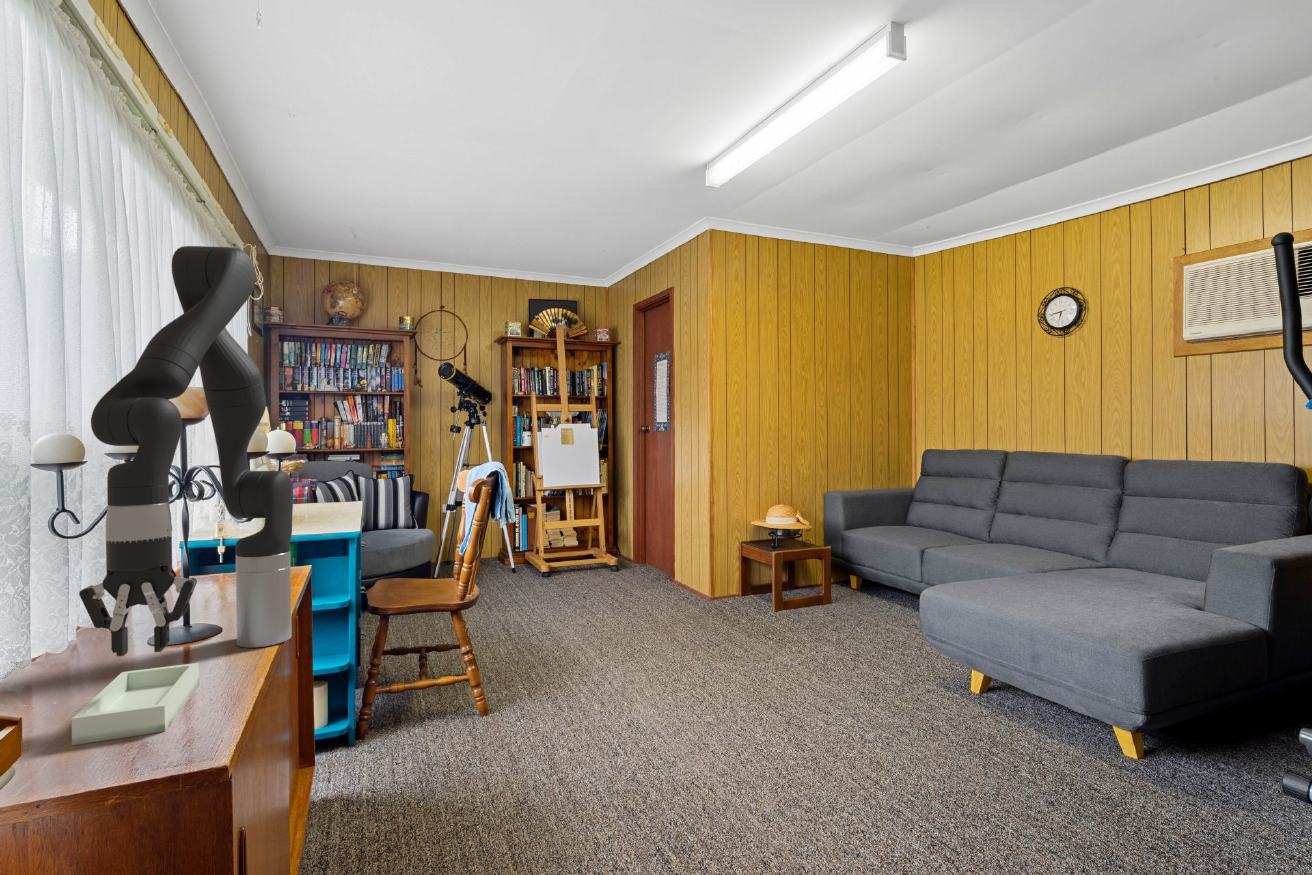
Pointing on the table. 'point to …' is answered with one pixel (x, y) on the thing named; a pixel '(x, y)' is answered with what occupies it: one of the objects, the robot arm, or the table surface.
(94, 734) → the tray
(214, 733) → the table surface
